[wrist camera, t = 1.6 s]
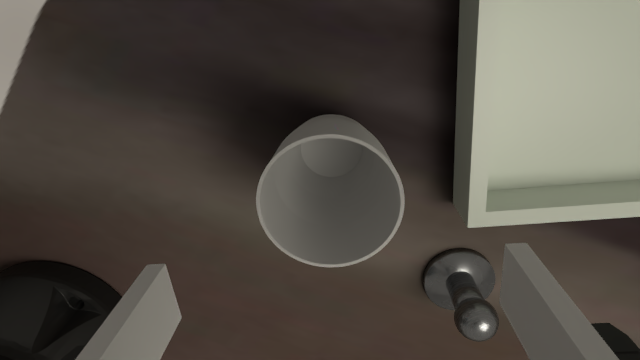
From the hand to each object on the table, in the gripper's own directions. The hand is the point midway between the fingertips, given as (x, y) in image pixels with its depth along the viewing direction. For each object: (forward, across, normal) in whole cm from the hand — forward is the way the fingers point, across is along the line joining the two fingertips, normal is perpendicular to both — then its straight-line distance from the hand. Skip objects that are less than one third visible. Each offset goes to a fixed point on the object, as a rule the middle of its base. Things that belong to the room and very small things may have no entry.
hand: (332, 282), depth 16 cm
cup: (+17, 0, 0) cm, 17 cm away
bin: (+17, +19, +4) cm, 25 cm away
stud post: (+17, +10, -13) cm, 23 cm away
